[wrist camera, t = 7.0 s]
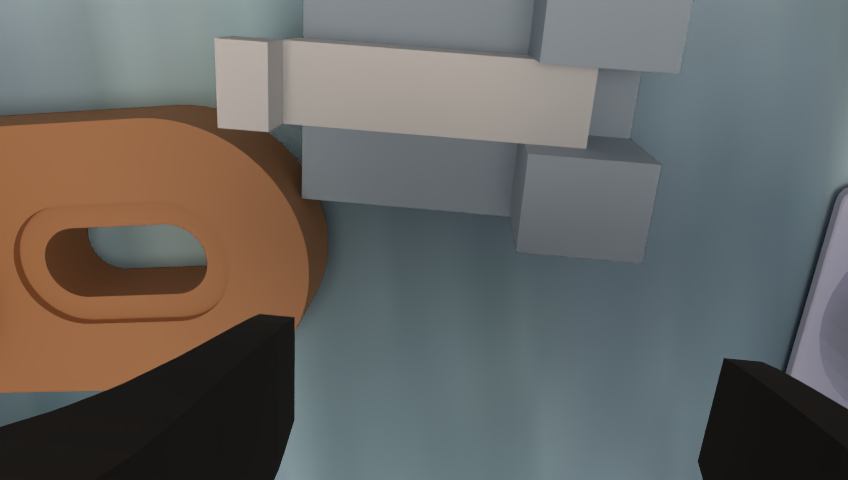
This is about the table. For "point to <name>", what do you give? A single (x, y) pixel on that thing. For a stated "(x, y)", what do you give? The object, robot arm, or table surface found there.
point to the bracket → (142, 205)
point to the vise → (470, 110)
